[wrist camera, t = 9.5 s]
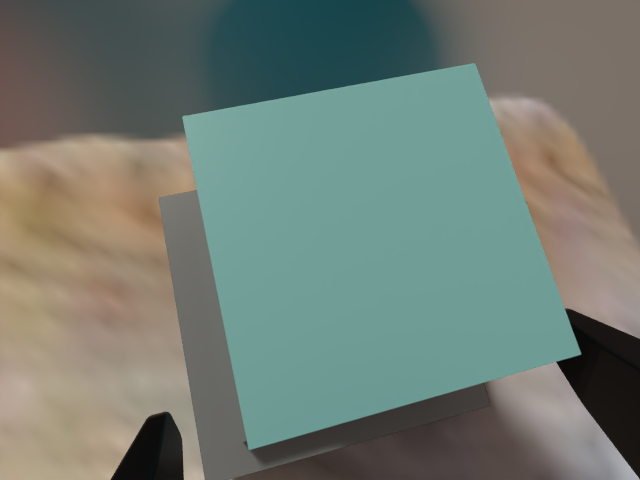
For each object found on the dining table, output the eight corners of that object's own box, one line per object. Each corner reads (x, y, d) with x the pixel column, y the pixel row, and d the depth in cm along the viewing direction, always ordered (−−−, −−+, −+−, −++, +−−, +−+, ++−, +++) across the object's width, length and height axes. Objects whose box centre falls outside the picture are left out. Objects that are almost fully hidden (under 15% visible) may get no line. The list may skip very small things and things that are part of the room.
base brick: (461, 395, 20) (509, 412, 16) (218, 462, 19) (198, 501, 15) (396, 171, 23) (422, 133, 18) (176, 216, 21) (147, 186, 17)
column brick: (389, 341, 18) (581, 354, 6) (275, 371, 17) (248, 450, 6) (359, 231, 19) (474, 63, 7) (249, 256, 18) (182, 116, 7)
